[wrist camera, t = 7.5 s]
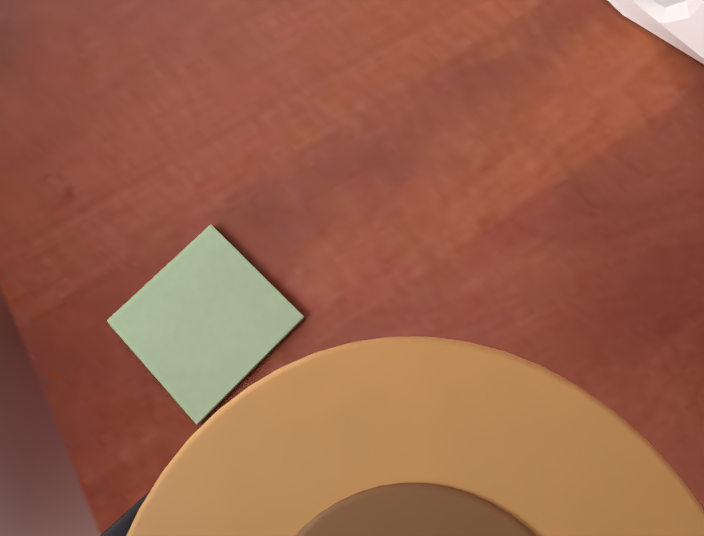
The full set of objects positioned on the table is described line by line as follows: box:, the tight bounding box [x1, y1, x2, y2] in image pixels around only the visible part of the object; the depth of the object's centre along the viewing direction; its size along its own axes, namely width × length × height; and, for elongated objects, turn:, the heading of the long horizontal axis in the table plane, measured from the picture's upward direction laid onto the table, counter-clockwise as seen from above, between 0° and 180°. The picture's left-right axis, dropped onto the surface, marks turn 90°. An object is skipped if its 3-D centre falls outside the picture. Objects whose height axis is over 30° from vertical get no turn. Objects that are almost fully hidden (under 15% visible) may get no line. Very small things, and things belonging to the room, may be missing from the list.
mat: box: [107, 225, 305, 424], centre depth 23 cm, size 7×7×1 cm
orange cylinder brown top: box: [127, 337, 704, 536], centre depth 8 cm, size 6×6×9 cm
